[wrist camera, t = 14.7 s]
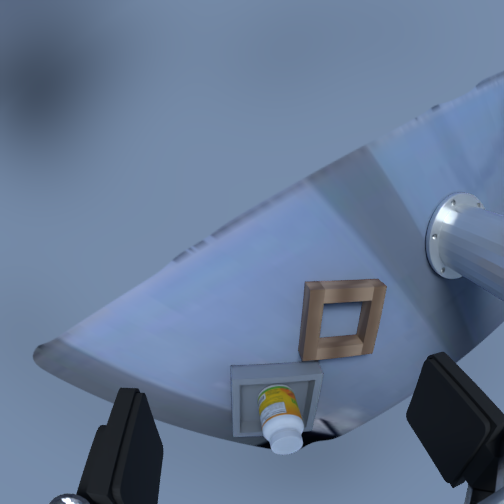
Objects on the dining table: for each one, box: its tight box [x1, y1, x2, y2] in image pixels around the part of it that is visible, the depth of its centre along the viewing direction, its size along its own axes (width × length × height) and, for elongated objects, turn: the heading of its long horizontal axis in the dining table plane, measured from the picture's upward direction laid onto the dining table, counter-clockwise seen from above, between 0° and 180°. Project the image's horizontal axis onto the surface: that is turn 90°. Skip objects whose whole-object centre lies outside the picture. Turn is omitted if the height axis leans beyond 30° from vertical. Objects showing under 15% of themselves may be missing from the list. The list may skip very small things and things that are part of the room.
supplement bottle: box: [258, 384, 304, 455], centre depth 37 cm, size 5×5×10 cm
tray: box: [231, 360, 324, 437], centre depth 41 cm, size 12×12×3 cm
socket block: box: [298, 279, 387, 361], centre depth 38 cm, size 10×10×2 cm
